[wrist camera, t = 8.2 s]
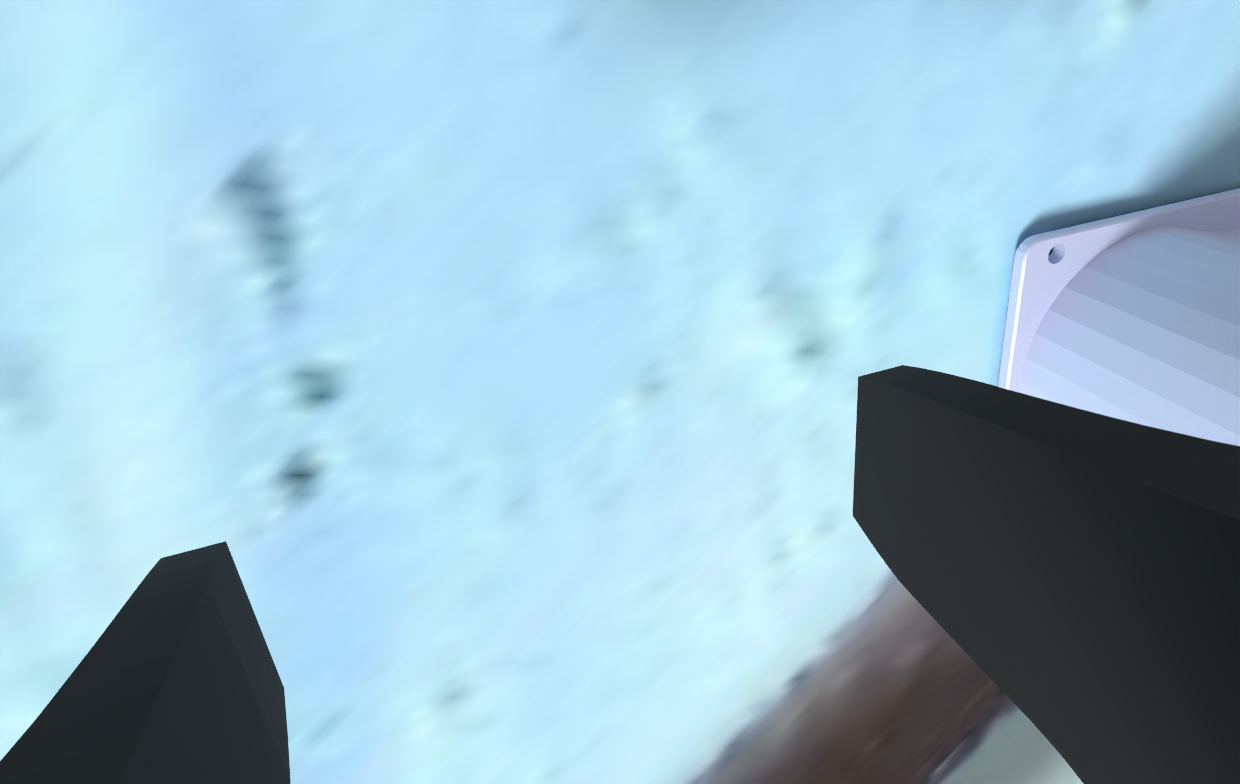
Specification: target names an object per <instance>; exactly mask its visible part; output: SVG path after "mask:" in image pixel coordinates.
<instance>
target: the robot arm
mask: <svg viewBox="0 0 1240 784" xmlns="http://www.w3.org/2000/svg"><path fill="white" fill-rule="evenodd" d="M1053 247H1054V248H1053ZM1052 248H1053V251H1052V253H1051V254H1050V256H1049V257H1048V255H1049V252H1050V250H1051V249H1052ZM853 517H854V518H855V519H856V521H857V522H858V524H859V525H860V527H861V528H862V530H863V531H864V533H865V534H866V536H867V537H868V539H869V540H870V542H871V543H872V544H873V546H874V547H875V549H876V550H877V552H878V553H879V554H880V556H881V557H882V559H883V560H884V561H885V563H886V564H887V565H888V567H889V568H890V569H891V571H892V572H893V573H894V575H895V576H896V577H897V579H898V580H899V581H900V582H901V583H902V584H903V586H904V587H905V588H906V589H907V590H908V591H909V592H910V593H911V594H912V596H913V597H914V598H915V599H916V600H917V601H918V602H919V603H920V604H921V605H922V606H923V607H924V608H925V609H926V611H927V612H928V613H929V614H930V615H931V616H932V617H933V618H934V619H935V620H936V621H937V622H938V623H939V625H940V626H941V627H942V628H943V629H944V630H945V631H946V632H947V633H948V634H949V635H950V636H951V637H952V638H953V639H954V640H955V641H956V642H957V643H958V645H959V646H960V647H961V648H962V649H963V650H964V651H965V652H966V653H967V654H968V655H969V656H970V657H971V658H972V659H973V660H974V661H975V662H976V663H977V664H978V666H979V667H980V668H981V669H982V670H983V671H984V672H985V673H986V674H987V675H988V676H989V677H990V678H991V679H992V680H993V681H994V682H995V683H996V684H997V685H998V687H999V688H1000V689H1001V690H1002V691H1003V692H1004V693H1005V694H1006V695H1007V696H1008V697H1009V698H1010V699H1011V700H1012V701H1013V702H1014V703H1015V704H1016V705H1017V706H1018V708H1019V709H1020V710H1021V711H1022V712H1023V713H1024V714H1025V715H1026V716H1027V717H1028V718H1029V719H1030V720H1031V721H1032V722H1033V723H1034V725H1035V726H1036V727H1037V728H1038V729H1039V730H1040V731H1041V733H1042V734H1043V735H1044V736H1045V737H1046V738H1047V739H1048V741H1049V742H1050V743H1051V744H1052V745H1053V746H1054V747H1055V748H1056V750H1057V751H1058V752H1059V753H1060V754H1061V755H1062V757H1063V758H1064V759H1065V760H1066V762H1067V763H1068V764H1069V765H1070V767H1071V768H1072V769H1073V771H1074V772H1075V773H1076V774H1077V776H1078V777H1079V778H1080V780H1081V781H1082V782H1083V783H1084V784H1240V188H1238V189H1234V190H1229V191H1225V192H1220V193H1216V194H1212V195H1207V196H1203V197H1199V198H1194V199H1190V200H1185V201H1181V202H1177V203H1172V204H1168V205H1163V206H1159V207H1155V208H1150V209H1146V210H1141V211H1137V212H1133V213H1128V214H1124V215H1120V216H1115V217H1111V218H1106V219H1102V220H1098V221H1093V222H1089V223H1084V224H1080V225H1076V226H1071V227H1067V228H1062V229H1058V230H1054V231H1049V232H1045V233H1041V234H1036V235H1032V236H1030V237H1028V238H1026V239H1025V240H1024V241H1023V242H1022V243H1021V244H1020V245H1019V247H1018V249H1017V250H1016V254H1015V257H1014V265H1013V272H1012V280H1011V288H1010V296H1009V303H1008V311H1007V319H1006V327H1005V334H1004V342H1003V350H1002V358H1001V366H1000V373H999V381H998V387H997V386H993V385H989V384H986V383H982V382H978V381H974V380H970V379H966V378H962V377H958V376H954V375H950V374H946V373H942V372H937V371H933V370H928V369H923V368H917V367H910V366H904V365H902V366H898V367H894V368H890V369H887V370H883V371H879V372H875V373H871V374H867V375H864V376H860V377H858V399H857V424H856V449H855V473H854V498H853ZM0 784H290V768H289V750H288V734H287V722H286V709H285V696H284V687H283V685H282V682H281V680H280V677H279V675H278V672H277V670H276V667H275V664H274V662H273V659H272V657H271V654H270V652H269V649H268V647H267V644H266V642H265V639H264V637H263V634H262V632H261V629H260V627H259V624H258V622H257V619H256V616H255V614H254V611H253V609H252V606H251V604H250V601H249V599H248V596H247V594H246V591H245V589H244V586H243V584H242V581H241V579H240V576H239V574H238V571H237V568H236V566H235V563H234V561H233V558H232V556H231V553H230V551H229V548H228V546H227V543H226V542H222V543H218V544H214V545H210V546H207V547H203V548H199V549H195V550H191V551H187V552H183V553H180V554H176V555H172V556H168V557H164V558H161V559H160V560H159V561H158V562H157V564H156V565H155V566H154V567H153V568H152V570H151V571H150V572H149V573H148V575H147V576H146V577H145V578H144V580H143V581H142V582H141V584H140V585H139V586H138V588H137V589H136V590H135V592H134V593H133V594H132V596H131V597H130V598H129V600H128V601H127V602H126V603H125V605H124V606H123V607H122V609H121V610H120V611H119V613H118V614H117V615H116V617H115V618H114V619H113V621H112V622H111V623H110V625H109V626H108V627H107V629H106V630H105V631H104V633H103V634H102V635H101V637H100V638H99V639H98V641H97V642H96V643H95V645H94V646H93V647H92V648H91V650H90V651H89V652H88V654H87V655H86V656H85V657H84V659H83V660H82V661H81V663H80V664H79V665H78V666H77V668H76V669H75V670H74V672H73V673H72V674H71V675H70V677H69V678H68V679H67V681H66V682H65V683H64V684H63V686H62V687H61V688H60V689H59V691H58V692H57V693H56V695H55V696H54V697H53V698H52V700H51V701H50V702H49V704H48V705H47V706H46V707H45V709H44V710H43V711H42V713H41V714H40V715H39V716H38V717H37V719H36V720H35V721H34V722H33V724H32V725H31V726H30V727H29V728H28V729H27V731H26V732H25V733H24V734H23V735H22V737H21V738H20V739H19V740H18V741H17V742H16V744H15V745H14V746H13V747H12V748H11V749H10V751H9V752H8V753H7V754H6V755H5V756H4V758H3V759H2V760H1V761H0Z"/></svg>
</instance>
